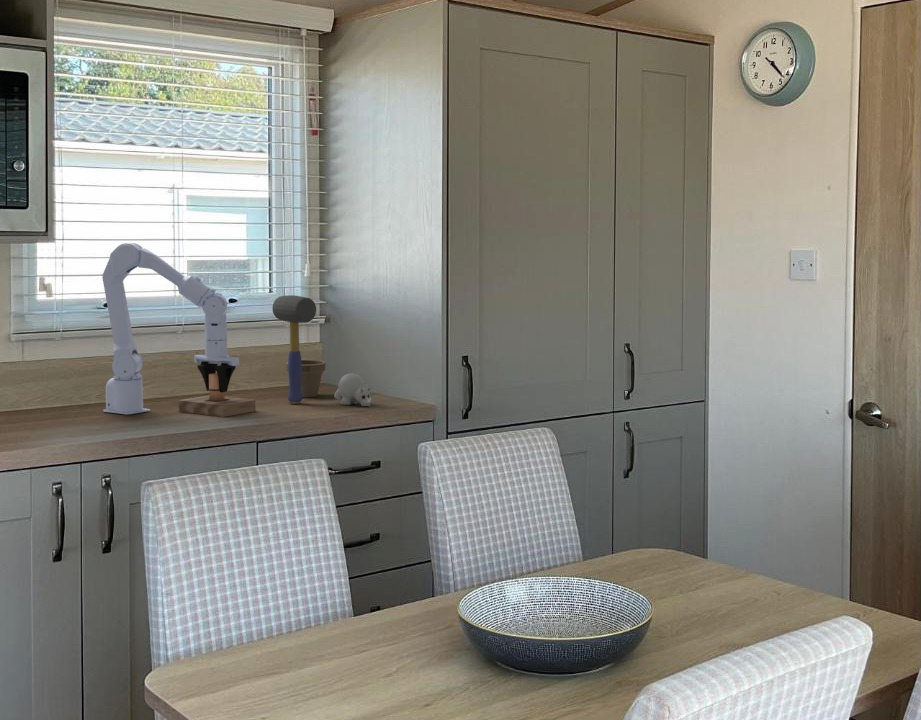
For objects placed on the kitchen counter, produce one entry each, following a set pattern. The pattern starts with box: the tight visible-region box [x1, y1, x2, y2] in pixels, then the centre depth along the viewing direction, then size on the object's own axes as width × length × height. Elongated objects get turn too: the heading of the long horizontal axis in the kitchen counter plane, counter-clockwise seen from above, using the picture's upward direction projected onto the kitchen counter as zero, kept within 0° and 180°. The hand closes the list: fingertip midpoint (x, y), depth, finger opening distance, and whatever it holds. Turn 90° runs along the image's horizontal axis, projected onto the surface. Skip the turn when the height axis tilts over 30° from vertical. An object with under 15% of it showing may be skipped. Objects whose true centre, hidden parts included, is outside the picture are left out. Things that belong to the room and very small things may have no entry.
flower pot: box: [285, 359, 327, 399], centre depth 327 cm, size 12×11×10 cm
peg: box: [208, 372, 226, 401], centre depth 298 cm, size 4×4×7 cm
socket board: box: [178, 395, 256, 418], centre depth 299 cm, size 16×12×3 cm
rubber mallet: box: [272, 295, 317, 405], centre depth 311 cm, size 12×8×30 cm, turn 43°
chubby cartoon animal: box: [334, 373, 372, 407], centre depth 310 cm, size 7×12×8 cm, turn 45°
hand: (217, 391), depth 298 cm, fingers closed on peg, 4 cm apart
